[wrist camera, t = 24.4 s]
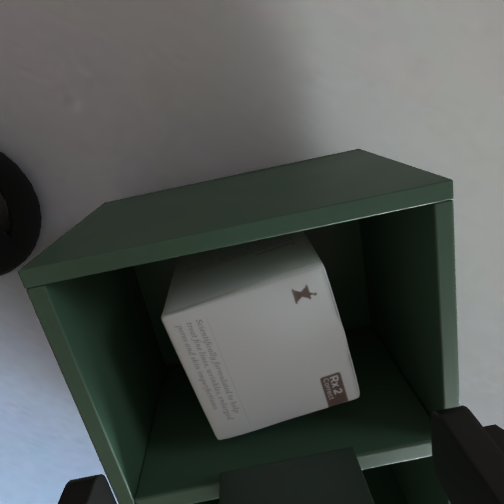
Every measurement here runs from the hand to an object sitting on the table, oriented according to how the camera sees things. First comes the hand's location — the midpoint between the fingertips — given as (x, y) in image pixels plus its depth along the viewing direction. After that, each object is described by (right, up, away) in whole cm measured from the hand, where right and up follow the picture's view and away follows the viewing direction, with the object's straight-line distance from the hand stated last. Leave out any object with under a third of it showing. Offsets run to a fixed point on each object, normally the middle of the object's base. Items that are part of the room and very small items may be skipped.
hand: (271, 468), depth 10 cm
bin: (0, 0, +14) cm, 14 cm away
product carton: (0, +4, +12) cm, 13 cm away
